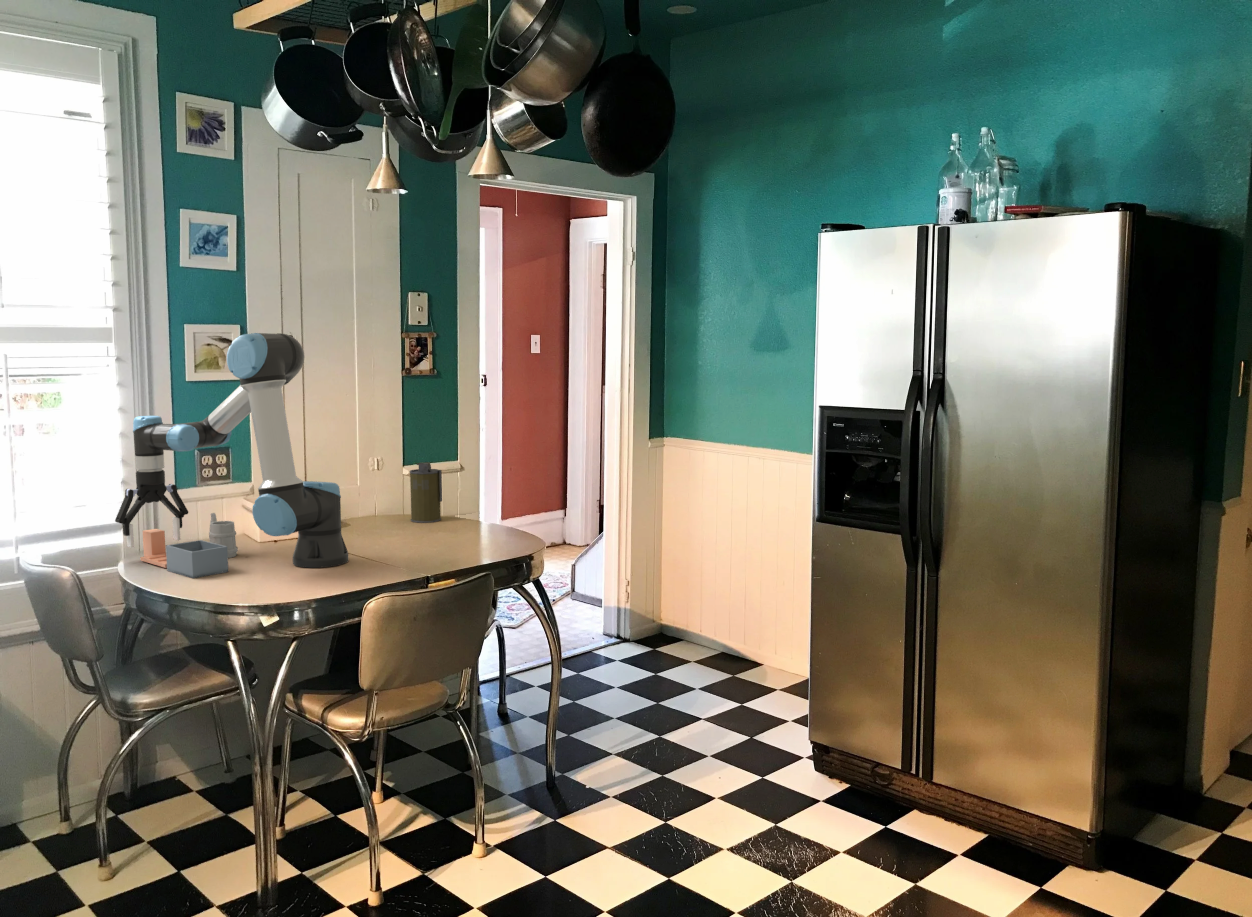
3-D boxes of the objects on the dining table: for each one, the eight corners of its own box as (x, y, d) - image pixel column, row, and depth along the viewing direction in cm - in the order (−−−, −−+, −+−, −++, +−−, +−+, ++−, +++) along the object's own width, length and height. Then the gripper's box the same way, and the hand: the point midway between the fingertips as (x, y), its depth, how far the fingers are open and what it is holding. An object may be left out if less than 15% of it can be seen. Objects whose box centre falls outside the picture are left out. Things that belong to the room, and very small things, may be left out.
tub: (228, 571, 282) (227, 546, 281) (193, 578, 274) (191, 552, 273) (202, 564, 291) (200, 539, 290) (167, 570, 283) (165, 545, 282)
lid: (202, 563, 293) (201, 535, 292) (165, 569, 285) (164, 540, 284) (168, 553, 306) (167, 527, 305) (132, 559, 298) (131, 532, 297)
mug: (217, 560, 297) (215, 518, 295) (198, 554, 305) (196, 513, 303) (242, 556, 302) (240, 515, 301) (224, 550, 310) (222, 510, 309)
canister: (406, 522, 357) (404, 464, 354) (417, 517, 367) (415, 460, 364) (436, 523, 355) (435, 465, 352) (446, 518, 365) (445, 461, 363)
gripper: (185, 464, 309) (189, 535, 311) (99, 473, 290) (104, 548, 292) (198, 466, 304) (201, 538, 307) (111, 475, 285) (116, 551, 288)
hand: (154, 543), depth 300 cm, fingers open, 13 cm apart
